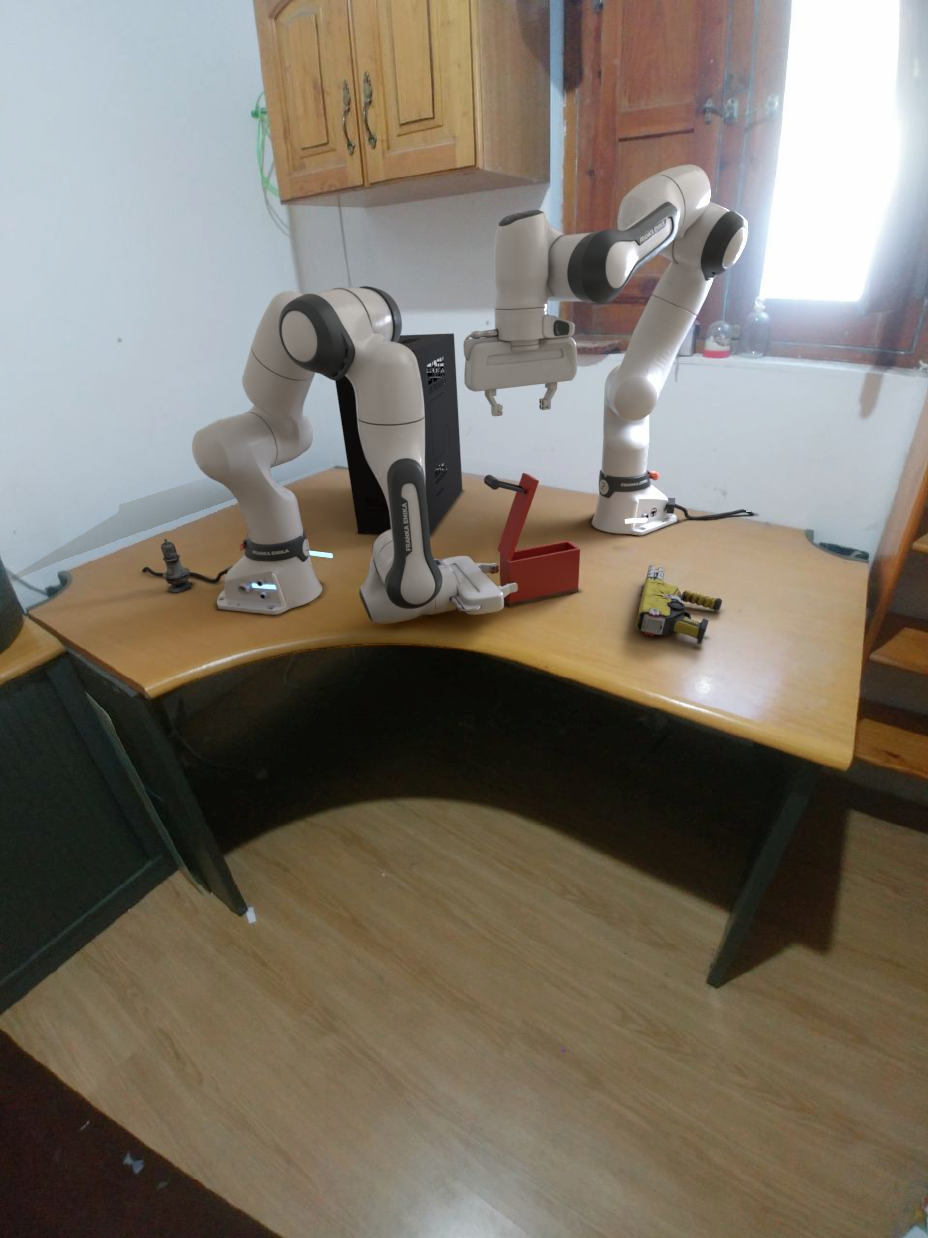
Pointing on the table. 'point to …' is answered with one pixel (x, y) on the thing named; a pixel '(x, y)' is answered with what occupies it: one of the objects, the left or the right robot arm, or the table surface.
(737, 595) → the table surface
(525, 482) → the lid
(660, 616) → the toy gun
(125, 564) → the table surface
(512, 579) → the chest
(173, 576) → the salt shaker
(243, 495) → the left robot arm
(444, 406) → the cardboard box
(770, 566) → the table surface
